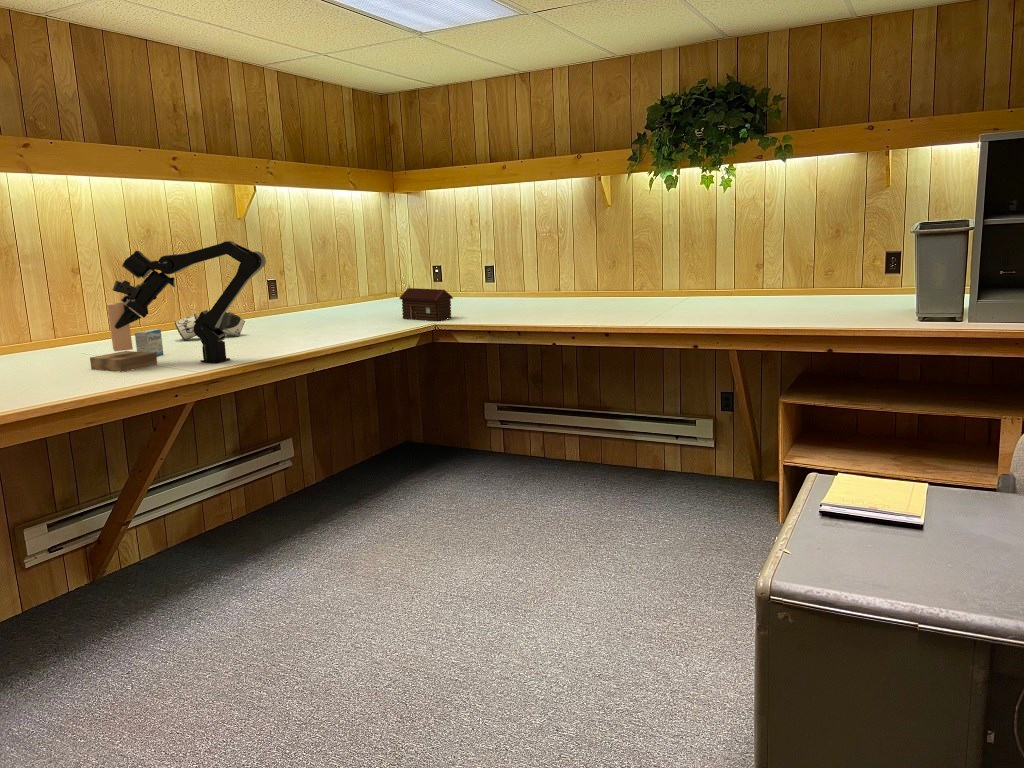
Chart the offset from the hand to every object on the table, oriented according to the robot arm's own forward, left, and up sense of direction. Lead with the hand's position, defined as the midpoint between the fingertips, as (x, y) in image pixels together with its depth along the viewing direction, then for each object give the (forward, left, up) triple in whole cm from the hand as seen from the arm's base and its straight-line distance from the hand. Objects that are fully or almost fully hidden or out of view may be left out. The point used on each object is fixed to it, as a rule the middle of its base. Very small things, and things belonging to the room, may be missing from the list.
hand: (115, 327), depth 239 cm
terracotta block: (-1, -1, -7) cm, 7 cm away
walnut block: (-1, -1, -13) cm, 13 cm away
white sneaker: (+20, -57, -13) cm, 62 cm away
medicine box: (+7, -18, -13) cm, 23 cm away
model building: (-31, -134, -13) cm, 138 cm away
